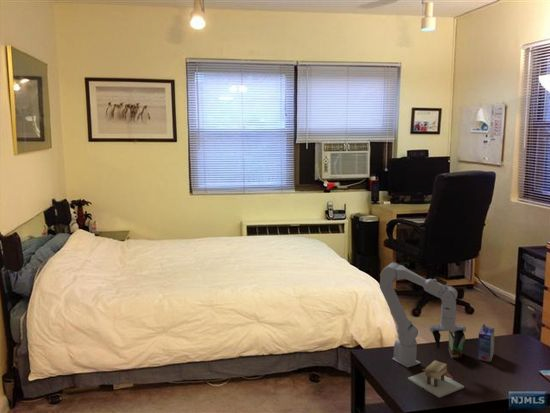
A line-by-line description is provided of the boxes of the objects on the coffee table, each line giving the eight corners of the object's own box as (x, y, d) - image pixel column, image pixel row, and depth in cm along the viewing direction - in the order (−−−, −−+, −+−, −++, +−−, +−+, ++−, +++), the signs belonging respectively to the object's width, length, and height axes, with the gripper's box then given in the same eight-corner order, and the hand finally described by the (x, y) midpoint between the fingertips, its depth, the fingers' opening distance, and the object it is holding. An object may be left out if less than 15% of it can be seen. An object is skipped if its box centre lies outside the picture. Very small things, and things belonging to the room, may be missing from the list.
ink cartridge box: (480, 350, 217) (482, 320, 215) (493, 353, 214) (495, 323, 212) (477, 359, 208) (478, 328, 206) (490, 362, 205) (492, 330, 203)
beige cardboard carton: (424, 383, 186) (425, 368, 185) (434, 375, 193) (434, 360, 192) (437, 387, 183) (437, 372, 182) (446, 379, 190) (446, 364, 189)
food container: (467, 361, 207) (468, 339, 205) (452, 359, 208) (453, 338, 207) (461, 348, 219) (462, 328, 217) (447, 347, 220) (448, 327, 219)
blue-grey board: (407, 379, 191) (407, 377, 191) (431, 370, 198) (432, 369, 198) (439, 397, 178) (439, 395, 177) (464, 387, 185) (464, 385, 184)
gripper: (462, 312, 199) (460, 343, 201) (427, 313, 199) (426, 343, 201) (468, 319, 192) (467, 350, 194) (433, 319, 192) (431, 350, 194)
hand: (446, 347), depth 197 cm, fingers open, 7 cm apart
